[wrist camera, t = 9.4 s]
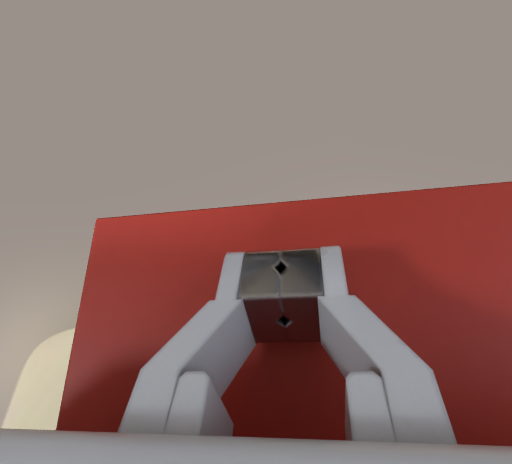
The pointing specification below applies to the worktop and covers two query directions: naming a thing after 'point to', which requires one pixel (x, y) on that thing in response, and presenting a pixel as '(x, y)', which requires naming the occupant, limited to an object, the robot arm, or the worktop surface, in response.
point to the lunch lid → (308, 353)
